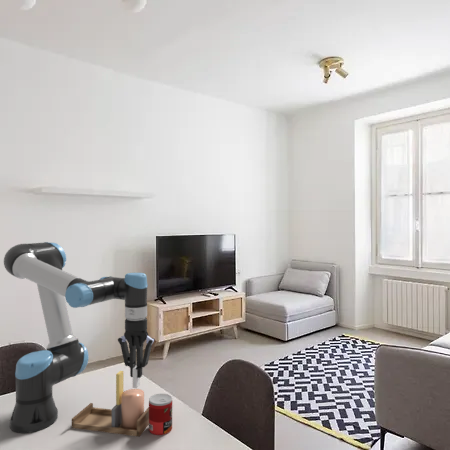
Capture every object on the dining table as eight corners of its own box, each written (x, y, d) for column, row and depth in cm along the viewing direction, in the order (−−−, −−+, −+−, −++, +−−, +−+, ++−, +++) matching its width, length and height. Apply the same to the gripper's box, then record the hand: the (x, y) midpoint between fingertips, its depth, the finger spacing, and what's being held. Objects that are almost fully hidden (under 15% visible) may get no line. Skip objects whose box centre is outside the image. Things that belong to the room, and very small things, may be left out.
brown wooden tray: (71, 429, 128) (71, 413, 128) (90, 412, 140) (90, 397, 140) (139, 438, 123) (139, 421, 123) (153, 420, 134) (153, 404, 134)
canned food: (167, 438, 123) (167, 404, 123) (144, 435, 125) (145, 402, 125) (175, 426, 131) (175, 394, 131) (153, 423, 132) (153, 392, 132)
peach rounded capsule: (117, 429, 127) (117, 397, 127) (127, 418, 134) (127, 387, 134) (138, 432, 125) (138, 399, 125) (147, 420, 133) (147, 389, 133)
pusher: (111, 429, 126) (111, 377, 126) (124, 416, 135) (124, 367, 135) (114, 430, 126) (114, 378, 126) (127, 416, 135) (127, 367, 135)
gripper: (113, 319, 127) (113, 389, 127) (149, 321, 124) (149, 392, 124) (123, 314, 134) (124, 380, 134) (158, 316, 132) (158, 383, 132)
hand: (136, 386), depth 129 cm, fingers closed
